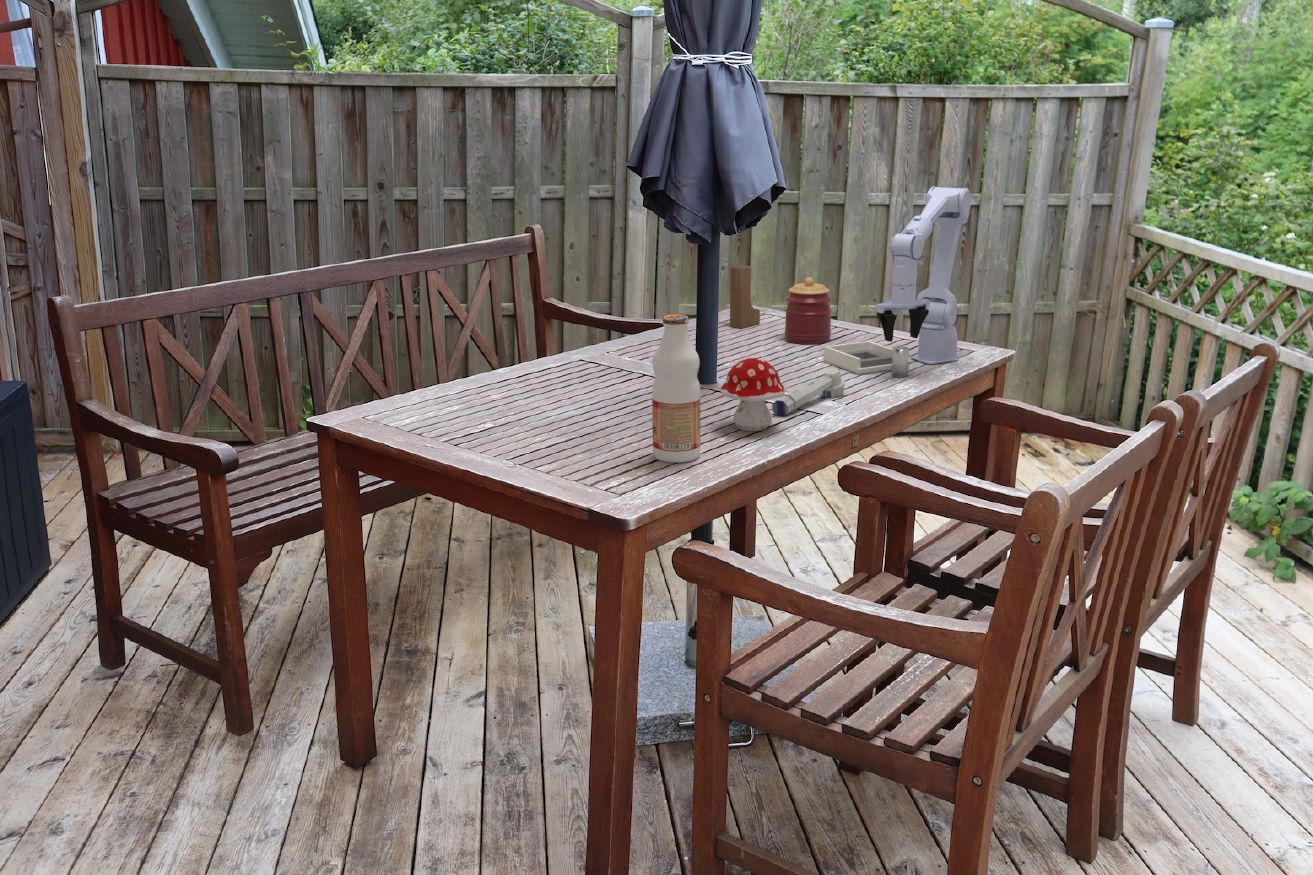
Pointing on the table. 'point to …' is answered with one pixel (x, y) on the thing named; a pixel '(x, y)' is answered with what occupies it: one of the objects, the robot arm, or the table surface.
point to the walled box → (859, 357)
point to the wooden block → (742, 298)
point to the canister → (808, 313)
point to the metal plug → (900, 362)
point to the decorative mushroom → (752, 392)
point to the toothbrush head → (810, 392)
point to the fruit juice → (676, 394)
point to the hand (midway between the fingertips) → (901, 339)
